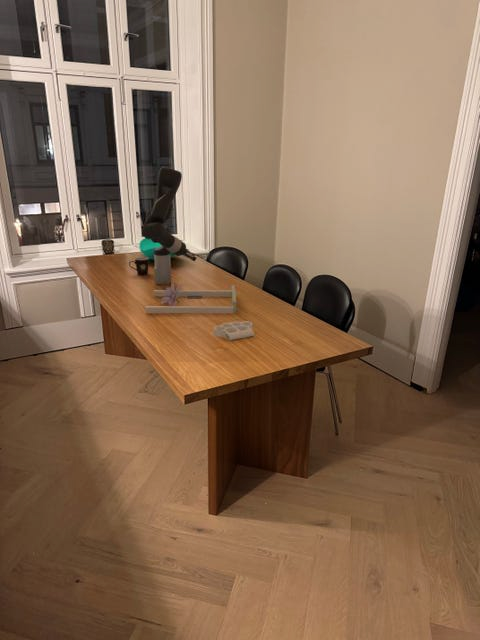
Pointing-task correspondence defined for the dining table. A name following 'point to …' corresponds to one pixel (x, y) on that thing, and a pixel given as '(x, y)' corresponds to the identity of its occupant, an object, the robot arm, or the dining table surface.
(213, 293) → the grey u-shaped frame
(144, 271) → the coffee mug
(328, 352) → the dining table surface
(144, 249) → the table top decor
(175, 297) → the water lily
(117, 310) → the dining table surface
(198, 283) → the dining table surface
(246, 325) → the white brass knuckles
